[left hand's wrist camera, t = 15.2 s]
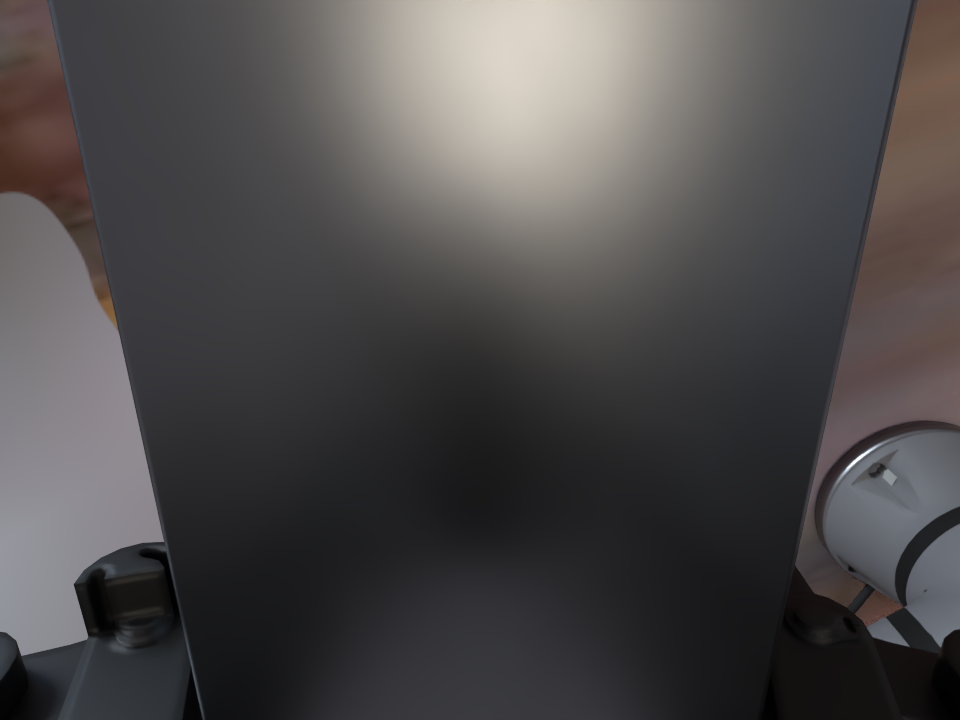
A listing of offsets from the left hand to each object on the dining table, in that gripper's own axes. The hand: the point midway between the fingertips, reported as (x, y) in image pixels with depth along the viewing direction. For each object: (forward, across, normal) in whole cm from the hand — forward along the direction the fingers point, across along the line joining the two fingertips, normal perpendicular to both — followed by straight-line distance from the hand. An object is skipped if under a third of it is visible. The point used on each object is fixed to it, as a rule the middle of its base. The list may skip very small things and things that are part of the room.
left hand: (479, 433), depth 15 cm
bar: (+1, 0, -8) cm, 8 cm away
